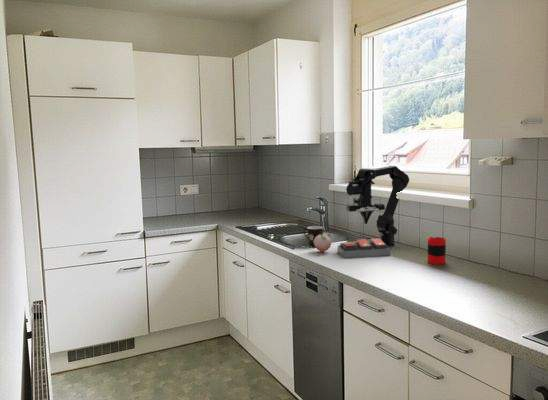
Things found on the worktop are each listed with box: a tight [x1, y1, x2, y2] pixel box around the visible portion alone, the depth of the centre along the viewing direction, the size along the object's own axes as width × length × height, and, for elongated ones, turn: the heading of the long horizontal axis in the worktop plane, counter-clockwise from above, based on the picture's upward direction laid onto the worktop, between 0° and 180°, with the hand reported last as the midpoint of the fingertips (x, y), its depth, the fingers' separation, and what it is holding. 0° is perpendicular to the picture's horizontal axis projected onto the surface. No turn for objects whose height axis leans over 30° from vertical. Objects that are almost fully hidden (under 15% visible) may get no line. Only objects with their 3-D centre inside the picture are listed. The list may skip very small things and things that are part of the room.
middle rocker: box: [356, 238, 370, 246], centre depth 230 cm, size 4×8×1 cm, turn 7°
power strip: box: [337, 240, 391, 259], centre depth 230 cm, size 23×12×5 cm, turn 98°
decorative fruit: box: [314, 232, 332, 253], centre depth 236 cm, size 9×8×10 cm
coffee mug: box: [303, 225, 324, 248], centre depth 251 cm, size 12×9×10 cm
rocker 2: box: [370, 237, 385, 246], centre depth 231 cm, size 4×8×1 cm, turn 8°
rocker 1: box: [341, 242, 355, 246], centre depth 229 cm, size 4×8×1 cm, turn 7°
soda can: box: [427, 234, 447, 266], centre depth 211 cm, size 8×8×12 cm
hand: (365, 223), depth 239 cm, fingers closed
